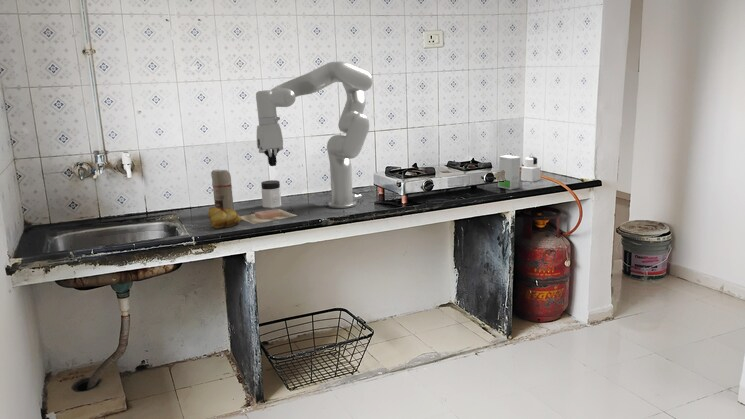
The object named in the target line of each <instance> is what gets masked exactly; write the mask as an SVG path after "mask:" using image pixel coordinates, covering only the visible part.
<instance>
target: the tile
mask: <svg viewBox="0 0 745 419" xmlns="http://www.w3.org/2000/svg"><path fill="white" fill-rule="evenodd" d="M254 214H255V217H258V218H260V219H266V218H272V217H277V216H282V212H281V211H278V209H275V208H271V209H267V210H262V211H256V212H254Z"/></svg>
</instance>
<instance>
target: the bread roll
mask: <svg viewBox="0 0 745 419" xmlns="http://www.w3.org/2000/svg"><path fill="white" fill-rule="evenodd" d="M207 212H208V213H207V215H208V218H209V223H210V226H211V227H213V228H214V229H221V228H231V227H233V226H237V225H239V223H241V221H242V219H241V217H240V215H239V214H238V213H237V211H236V210H235V209H234V210H233V209H224V210H221V209H218V208H216V207H215V206H211V207H209V208H208V211H207Z"/></svg>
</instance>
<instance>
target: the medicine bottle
mask: <svg viewBox="0 0 745 419" xmlns="http://www.w3.org/2000/svg"><path fill="white" fill-rule="evenodd" d="M524 158H525V159H524V166H520V171H521V172H520V180H521V181H522V182H523V181H524V182H529V183H530V182H531V183H534V182H538V181H540V180H541V166H538V158H537V157H535V156H526V157H524Z"/></svg>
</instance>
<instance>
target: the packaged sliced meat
mask: <svg viewBox="0 0 745 419" xmlns="http://www.w3.org/2000/svg"><path fill="white" fill-rule="evenodd" d="M277 210H278V211H281V212H282V216H277V217H272V218H266V219H260V218H258V217H255V213H251V214H246V215H241V216H240V215H239V216H240V217H241V220H243V221H245V222H248V223H250V224H251V225H257V224H261V223H267V222H273V221H276V220H278V221H279V220H282V219H287V218H293V217H296V216H298V215H297V214H294V213H291V212H288V211H286V210H283V209H280V208H278V209H277Z"/></svg>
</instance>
